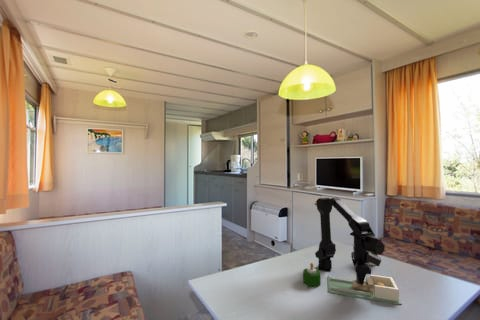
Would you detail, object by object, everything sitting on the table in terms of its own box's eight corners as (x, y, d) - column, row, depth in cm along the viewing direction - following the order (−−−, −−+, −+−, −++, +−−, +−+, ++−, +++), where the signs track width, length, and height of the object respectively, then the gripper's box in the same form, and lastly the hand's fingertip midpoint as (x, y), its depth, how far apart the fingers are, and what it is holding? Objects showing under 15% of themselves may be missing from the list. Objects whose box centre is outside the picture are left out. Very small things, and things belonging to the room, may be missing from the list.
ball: (388, 292, 108) (380, 295, 109) (386, 287, 112) (378, 291, 113) (383, 284, 108) (374, 287, 110) (381, 279, 112) (372, 283, 113)
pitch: (328, 292, 111) (328, 280, 111) (327, 277, 125) (327, 267, 125) (401, 304, 101) (401, 292, 101) (392, 287, 116) (392, 275, 116)
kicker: (354, 290, 111) (354, 272, 111) (352, 283, 118) (352, 266, 118) (373, 293, 108) (373, 275, 108) (370, 286, 115) (370, 268, 115)
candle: (321, 288, 115) (321, 267, 115) (303, 286, 116) (303, 265, 116) (319, 279, 123) (319, 260, 123) (302, 278, 125) (302, 258, 125)
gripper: (384, 256, 102) (384, 293, 102) (375, 242, 119) (375, 273, 119) (355, 253, 106) (355, 288, 106) (351, 240, 123) (351, 270, 123)
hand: (360, 280), depth 113 cm, fingers open, 7 cm apart
